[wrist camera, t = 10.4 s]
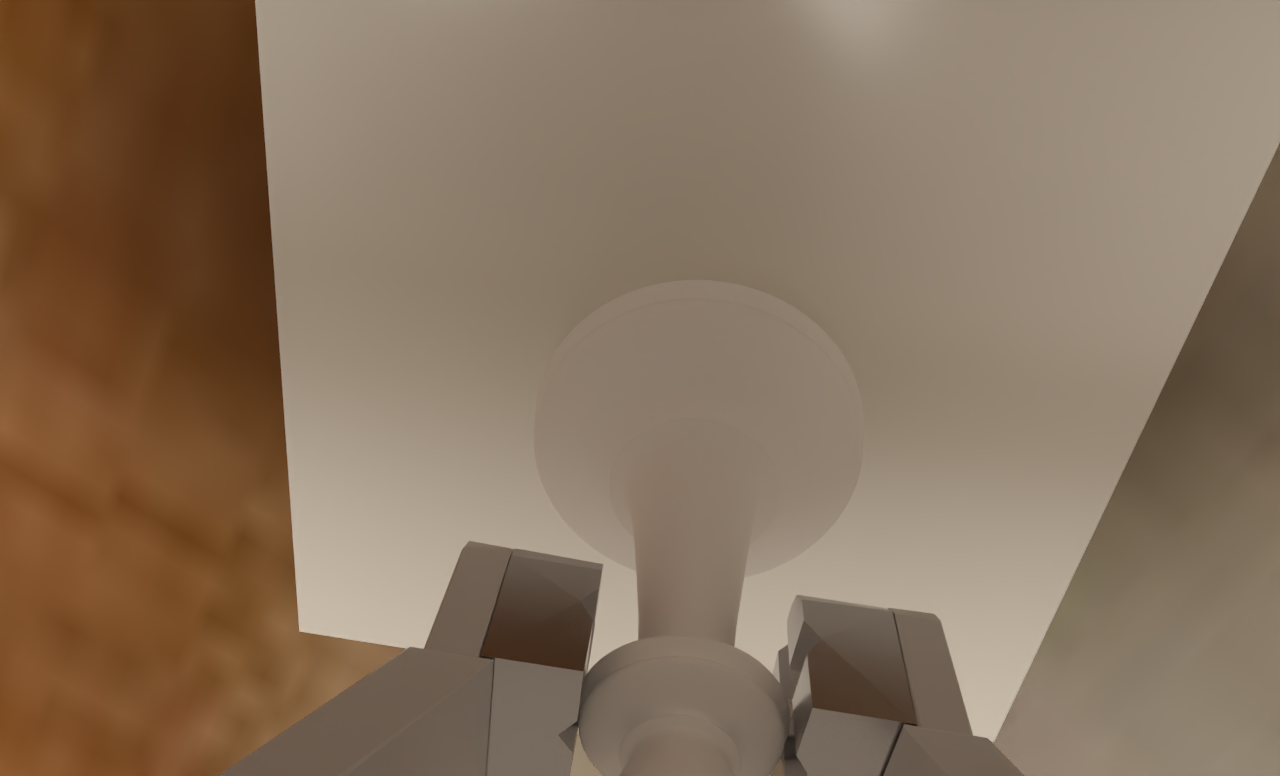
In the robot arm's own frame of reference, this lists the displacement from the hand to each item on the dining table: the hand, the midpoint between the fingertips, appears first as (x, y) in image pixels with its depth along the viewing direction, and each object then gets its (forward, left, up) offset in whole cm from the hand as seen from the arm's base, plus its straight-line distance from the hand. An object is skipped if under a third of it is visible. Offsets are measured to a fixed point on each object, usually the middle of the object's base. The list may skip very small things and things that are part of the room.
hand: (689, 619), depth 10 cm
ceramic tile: (0, 0, -7) cm, 7 cm away
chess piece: (0, 0, -5) cm, 5 cm away
